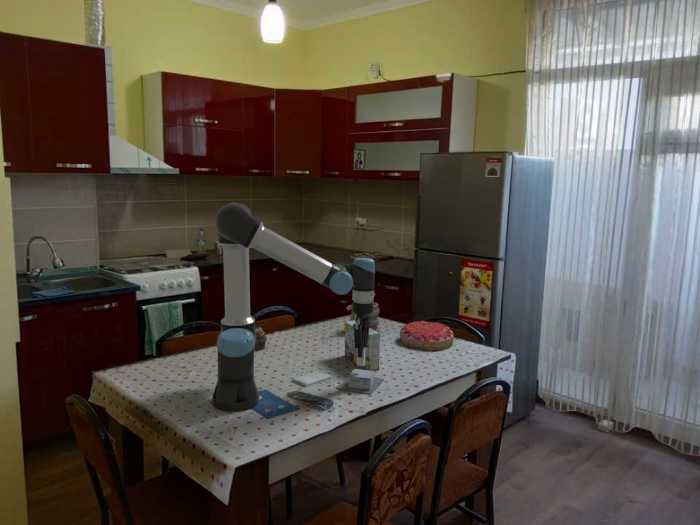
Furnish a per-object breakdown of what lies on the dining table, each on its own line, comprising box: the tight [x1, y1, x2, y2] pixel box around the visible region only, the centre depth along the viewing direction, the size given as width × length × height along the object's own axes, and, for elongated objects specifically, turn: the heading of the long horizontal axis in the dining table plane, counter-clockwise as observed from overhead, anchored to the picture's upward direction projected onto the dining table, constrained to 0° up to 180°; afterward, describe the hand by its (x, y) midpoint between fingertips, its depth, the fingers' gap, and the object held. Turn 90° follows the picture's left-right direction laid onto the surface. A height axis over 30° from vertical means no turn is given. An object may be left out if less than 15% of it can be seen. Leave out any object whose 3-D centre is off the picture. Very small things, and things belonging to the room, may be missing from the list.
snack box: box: [344, 320, 381, 371], centre depth 226 cm, size 21×6×15 cm, turn 27°
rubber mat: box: [335, 376, 385, 395], centre depth 203 cm, size 16×13×1 cm
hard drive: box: [291, 370, 333, 388], centre depth 206 cm, size 2×8×12 cm
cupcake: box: [254, 325, 267, 352], centre depth 241 cm, size 10×10×10 cm
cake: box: [399, 320, 454, 351], centre depth 258 cm, size 25×25×8 cm
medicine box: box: [348, 368, 376, 390], centre depth 201 cm, size 8×4×9 cm
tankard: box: [345, 301, 381, 333], centre depth 270 cm, size 20×13×15 cm, turn 130°
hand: (360, 365), depth 202 cm, fingers closed
